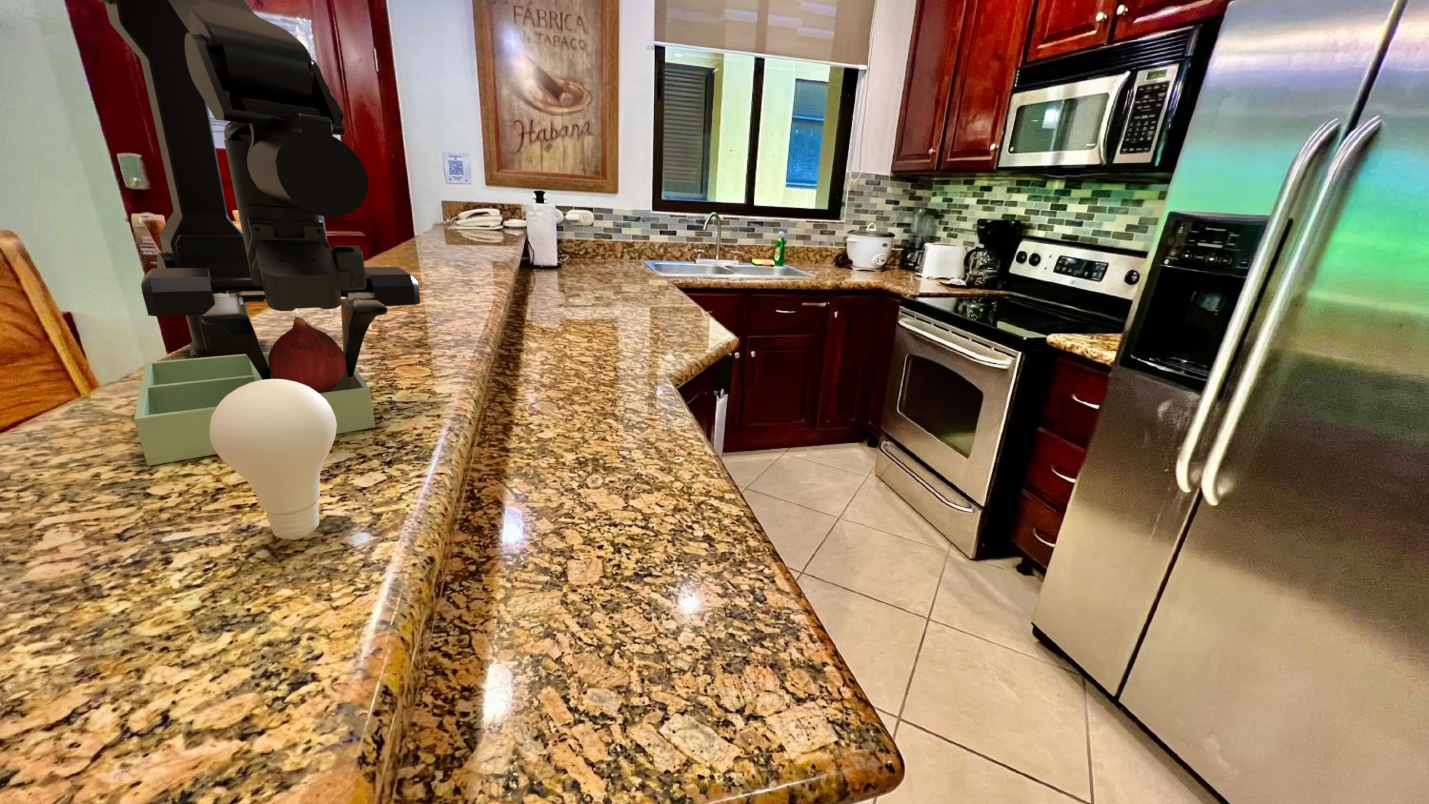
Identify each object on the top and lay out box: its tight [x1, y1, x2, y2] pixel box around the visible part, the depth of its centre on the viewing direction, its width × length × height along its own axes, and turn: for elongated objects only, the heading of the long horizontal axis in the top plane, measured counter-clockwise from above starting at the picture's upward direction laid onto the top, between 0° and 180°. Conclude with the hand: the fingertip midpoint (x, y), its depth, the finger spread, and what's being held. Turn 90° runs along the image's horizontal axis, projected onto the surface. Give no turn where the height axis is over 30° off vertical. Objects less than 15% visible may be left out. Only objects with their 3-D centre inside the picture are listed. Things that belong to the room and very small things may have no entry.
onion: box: [268, 316, 347, 393], centre depth 51 cm, size 6×6×8 cm
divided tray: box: [133, 351, 376, 467], centre depth 52 cm, size 16×16×4 cm
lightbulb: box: [210, 379, 337, 541], centre depth 35 cm, size 6×6×11 cm
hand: (311, 380), depth 51 cm, fingers closed on onion, 6 cm apart
